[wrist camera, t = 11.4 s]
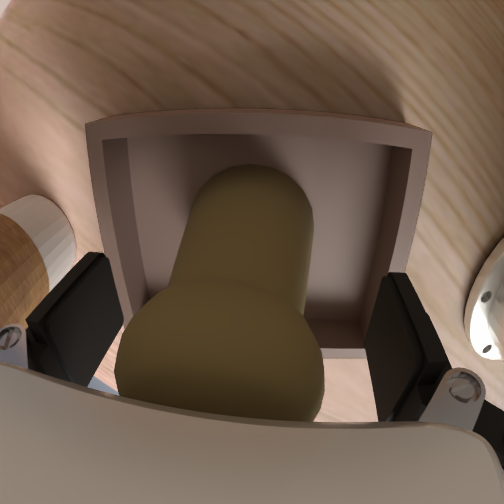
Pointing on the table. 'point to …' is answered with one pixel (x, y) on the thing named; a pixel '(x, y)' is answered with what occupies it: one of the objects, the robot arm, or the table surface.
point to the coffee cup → (31, 255)
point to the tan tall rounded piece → (232, 308)
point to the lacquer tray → (284, 160)
